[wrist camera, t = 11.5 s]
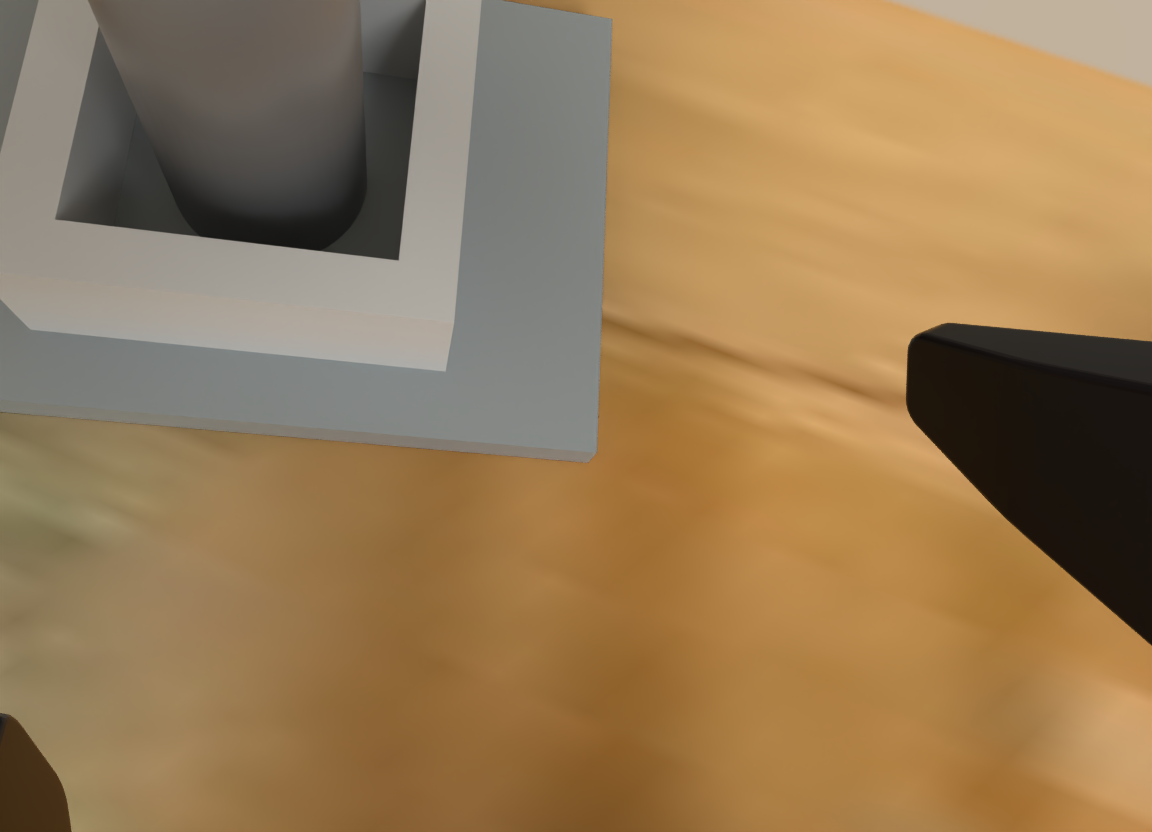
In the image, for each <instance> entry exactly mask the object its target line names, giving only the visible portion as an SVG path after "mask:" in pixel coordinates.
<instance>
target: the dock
mask: <svg viewBox="0 0 1152 832" xmlns="http://www.w3.org/2000/svg"><path fill="white" fill-rule="evenodd" d="M360 9H361V34H362V60H363V85H364V111H365V136H366V161H367V190H366V195H365V200H364V203H363V205H362V208H361V211H360V212H359V214H358V216H357V218H356V220H355V221H354V222H353V224H352V225H351V226H350V228H349V229H348V230H347V231H346V232H345V233H344V234H343V235H342V236H341V237H340V238H339V239H338V240H336V241H335V242H334V243H332V244H331V245H329V246H328V247H326V248H324V249H323V250H321V251H314V250H306V249H297V248H289V247H281V246H272V245H264V244H256V243H247V242H239V241H231V240H222V239H214V238H206V237H200V236H199V235H198V234H197V233H196V232H195V231H194V230H193V229H192V228H191V227H190V226H189V224H188V223H187V222H186V220H185V219H184V218H183V216H182V214H181V212H180V210H179V208H178V207H177V204H176V202H175V200H174V197H173V195H172V193H171V191H170V188H169V186H168V184H167V181H166V179H165V177H164V175H163V172H162V170H161V168H160V165H159V163H158V161H157V158H156V156H155V154H154V152H153V149H152V147H151V145H150V142H149V140H148V138H147V135H146V133H145V131H144V129H143V126H142V124H141V122H140V119H139V117H138V115H137V112H136V110H135V108H134V106H133V103H132V101H131V99H130V96H129V94H128V92H127V89H126V87H125V85H124V83H123V80H122V78H121V76H120V73H119V71H118V69H117V66H116V64H115V62H114V60H113V57H112V55H111V53H110V50H109V48H108V46H107V44H106V41H105V39H104V37H103V34H102V32H101V30H100V27H99V25H98V23H97V21H96V18H95V16H94V14H93V11H92V9H91V7H90V4H89V2H88V0H0V412H8V413H20V414H31V415H43V416H54V417H66V418H77V419H89V420H100V421H112V422H124V423H135V424H147V425H158V426H170V427H181V428H193V429H204V430H216V431H227V432H239V433H250V434H262V435H273V436H285V437H296V438H308V439H320V440H331V441H343V442H354V443H366V444H377V445H389V446H400V447H412V448H423V449H435V450H446V451H458V452H469V453H481V454H493V455H504V456H516V457H527V458H539V459H550V460H562V461H573V462H585V463H588V462H589V461H590V460H591V459H592V458H593V457H594V455H595V454H596V453H597V433H598V405H599V377H600V349H601V321H602V293H603V265H604V237H605V209H606V181H607V153H608V125H609V97H610V69H611V41H612V19H609V18H603V17H597V16H591V15H586V14H580V13H574V12H568V11H562V10H556V9H550V8H544V7H538V6H532V5H527V4H521V3H515V2H509V1H503V0H360Z"/></svg>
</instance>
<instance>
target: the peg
mask: <svg viewBox="0 0 1152 832" xmlns="http://www.w3.org/2000/svg"><path fill="white" fill-rule="evenodd" d="M88 2H89V4H90V7H91V9H92V11H93V14H94V16H95V18H96V21H97V23H98V25H99V27H100V30H101V32H102V34H103V37H104V39H105V41H106V44H107V46H108V48H109V50H110V53H111V55H112V57H113V60H114V62H115V64H116V66H117V69H118V71H119V73H120V76H121V78H122V80H123V83H124V85H125V87H126V89H127V92H128V94H129V96H130V99H131V101H132V103H133V106H134V108H135V110H136V112H137V115H138V117H139V119H140V122H141V124H142V126H143V129H144V131H145V133H146V135H147V138H148V140H149V142H150V145H151V147H152V149H153V152H154V154H155V156H156V158H157V161H158V163H159V165H160V168H161V170H162V172H163V175H164V177H165V179H166V181H167V184H168V186H169V188H170V191H171V193H172V195H173V197H174V200H175V202H176V204H177V207H178V208H179V210H180V212H181V214H182V216H183V218H184V219H185V220H186V222H187V223H188V224H189V226H190V227H191V228H192V229H193V230H194V231H195V232H196V233H197V234H198V235H199V236H200V237H206V238H214V239H222V240H231V241H239V242H247V243H256V244H264V245H272V246H281V247H289V248H297V249H306V250H314V251H321V250H323V249H324V248H326V247H328V246H329V245H331V244H332V243H334V242H335V241H336V240H338V239H339V238H340V237H341V236H342V235H343V234H344V233H345V232H346V231H347V230H348V229H349V228H350V226H351V225H352V224H353V222H354V221H355V220H356V218H357V216H358V214H359V212H360V211H361V208H362V205H363V203H364V200H365V195H366V190H367V161H366V136H365V111H364V85H363V60H362V34H361V9H360V0H88Z"/></svg>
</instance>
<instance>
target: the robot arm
mask: <svg viewBox="0 0 1152 832" xmlns="http://www.w3.org/2000/svg"><path fill="white" fill-rule="evenodd" d="M906 405H907V409H908V412H909V414H910V416H911V418H912V420H913V421H914V423H915V424H916V425H917V426H918V427H919V428H920V429H921V430H922V431H923V433H924V434H925V435H926V436H927V437H928V438H929V439H930V440H931V441H932V442H933V443H934V444H935V445H936V446H937V447H938V448H939V449H940V450H941V451H942V453H943V454H944V455H945V456H946V457H947V458H948V459H949V460H950V461H951V462H952V463H953V464H954V465H955V466H956V467H957V468H958V469H959V470H960V472H961V473H962V474H963V475H964V476H965V477H966V478H967V479H968V480H969V481H970V482H971V483H972V484H973V485H974V486H975V487H976V488H977V489H978V491H979V492H980V493H981V494H982V495H983V496H984V497H985V498H986V499H987V500H988V501H989V502H990V503H991V504H992V505H993V506H994V507H995V508H996V509H997V510H998V511H999V512H1000V513H1001V514H1002V515H1003V516H1004V517H1005V518H1006V519H1007V520H1008V521H1009V522H1010V523H1011V524H1012V525H1013V526H1015V527H1016V528H1017V529H1018V530H1019V531H1020V532H1021V533H1022V534H1023V535H1025V536H1026V537H1027V538H1028V539H1029V540H1030V541H1031V542H1033V543H1034V544H1035V545H1036V546H1037V547H1038V548H1040V549H1041V550H1042V551H1043V552H1044V553H1045V554H1046V555H1048V556H1049V557H1050V558H1051V559H1052V560H1053V561H1055V562H1056V563H1057V564H1058V565H1059V566H1060V567H1061V568H1063V569H1064V570H1065V571H1066V572H1067V573H1068V574H1070V575H1071V576H1072V577H1073V578H1074V579H1075V580H1076V581H1078V582H1079V583H1080V584H1081V585H1082V586H1083V587H1085V588H1086V589H1087V590H1088V591H1089V592H1090V593H1091V594H1093V595H1094V596H1095V597H1096V598H1097V599H1098V600H1100V601H1101V602H1102V603H1103V604H1104V605H1105V606H1106V607H1108V608H1109V609H1110V610H1111V611H1112V612H1113V613H1115V614H1116V615H1117V616H1118V617H1119V618H1120V619H1121V620H1123V621H1124V622H1125V623H1126V624H1127V625H1128V626H1130V627H1131V628H1132V629H1133V630H1134V631H1135V632H1137V633H1138V634H1139V635H1140V636H1141V637H1142V638H1143V639H1145V640H1146V641H1147V642H1148V643H1149V644H1150V645H1152V342H1151V341H1140V340H1129V339H1119V338H1108V337H1097V336H1086V335H1076V334H1065V333H1054V332H1043V331H1032V330H1022V329H1011V328H1000V327H989V326H979V325H968V324H957V323H945V324H941V325H938V326H936V327H933V328H931V329H928V330H926V331H924V332H921V333H919V334H917V335H915V336H914V337H913V338H912V339H911V342H910V344H909V346H908V354H907V383H906ZM0 832H72V831H71V824H70V818H69V811H68V804H67V799H66V796H65V792H64V789H63V786H62V784H61V782H60V780H59V778H58V776H57V774H56V773H55V771H54V770H53V768H52V767H51V766H50V764H49V763H48V762H47V760H46V759H45V757H44V756H43V755H42V753H41V752H40V750H39V749H38V748H37V746H36V745H35V744H34V742H33V741H32V739H31V738H30V737H29V735H28V734H27V733H26V731H25V730H24V728H23V727H22V726H21V724H20V723H19V722H18V721H17V720H16V719H15V718H13V717H12V716H11V715H9V714H2V713H0Z"/></svg>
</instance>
